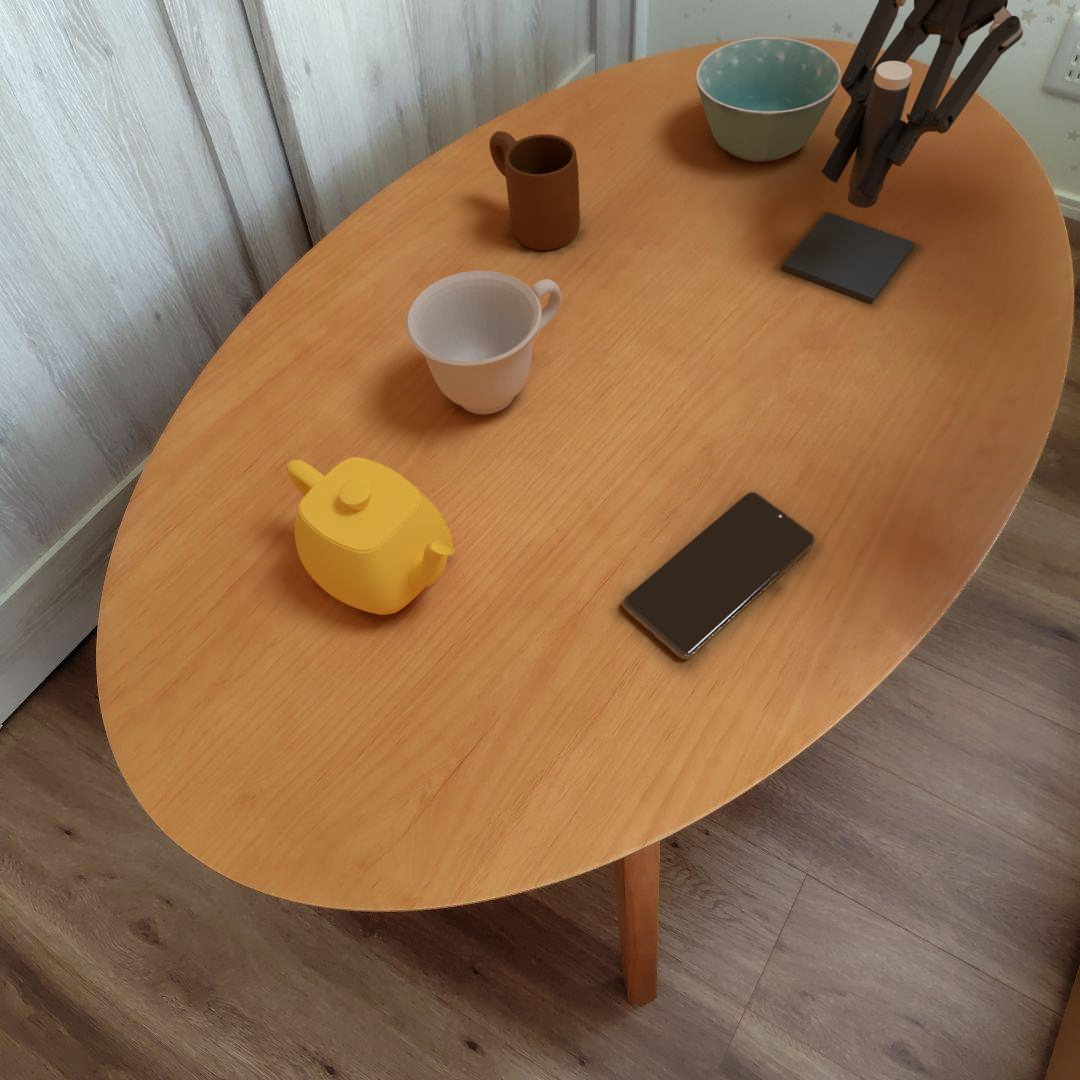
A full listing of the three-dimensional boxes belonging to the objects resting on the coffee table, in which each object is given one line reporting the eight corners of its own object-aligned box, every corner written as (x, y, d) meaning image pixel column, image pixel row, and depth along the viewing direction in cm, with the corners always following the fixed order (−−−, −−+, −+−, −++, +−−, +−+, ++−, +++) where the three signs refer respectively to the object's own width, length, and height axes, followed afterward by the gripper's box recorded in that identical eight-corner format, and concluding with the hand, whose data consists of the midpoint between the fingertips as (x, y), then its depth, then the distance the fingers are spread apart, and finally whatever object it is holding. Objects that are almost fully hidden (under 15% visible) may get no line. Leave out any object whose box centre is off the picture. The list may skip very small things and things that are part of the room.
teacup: (597, 391, 90) (595, 311, 82) (462, 460, 86) (445, 384, 78) (532, 320, 96) (524, 239, 88) (403, 382, 93) (382, 303, 84)
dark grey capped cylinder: (884, 195, 92) (919, 65, 82) (870, 213, 91) (904, 84, 80) (854, 185, 94) (884, 56, 83) (839, 202, 92) (868, 73, 81)
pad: (913, 248, 98) (915, 242, 98) (871, 304, 94) (873, 298, 94) (825, 217, 102) (826, 211, 102) (781, 270, 98) (782, 263, 97)
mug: (473, 214, 107) (462, 138, 99) (524, 184, 109) (516, 108, 101) (543, 263, 101) (536, 186, 93) (594, 230, 104) (592, 153, 96)
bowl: (664, 135, 113) (667, 67, 106) (765, 87, 117) (774, 20, 110) (751, 198, 105) (760, 130, 98) (856, 145, 109) (872, 76, 102)
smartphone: (618, 601, 76) (751, 487, 81) (618, 608, 77) (750, 495, 82) (685, 660, 72) (820, 537, 77) (684, 666, 73) (818, 545, 78)
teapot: (511, 575, 79) (498, 498, 70) (426, 672, 74) (400, 603, 66) (356, 480, 86) (326, 400, 77) (270, 564, 81) (227, 489, 73)
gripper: (1094, -29, 80) (931, 231, 87) (924, -81, 87) (788, 164, 95) (1089, -74, 73) (914, 210, 81) (906, -126, 81) (761, 140, 88)
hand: (846, 185), depth 88 cm, fingers closed on dark grey capped cylinder, 3 cm apart
